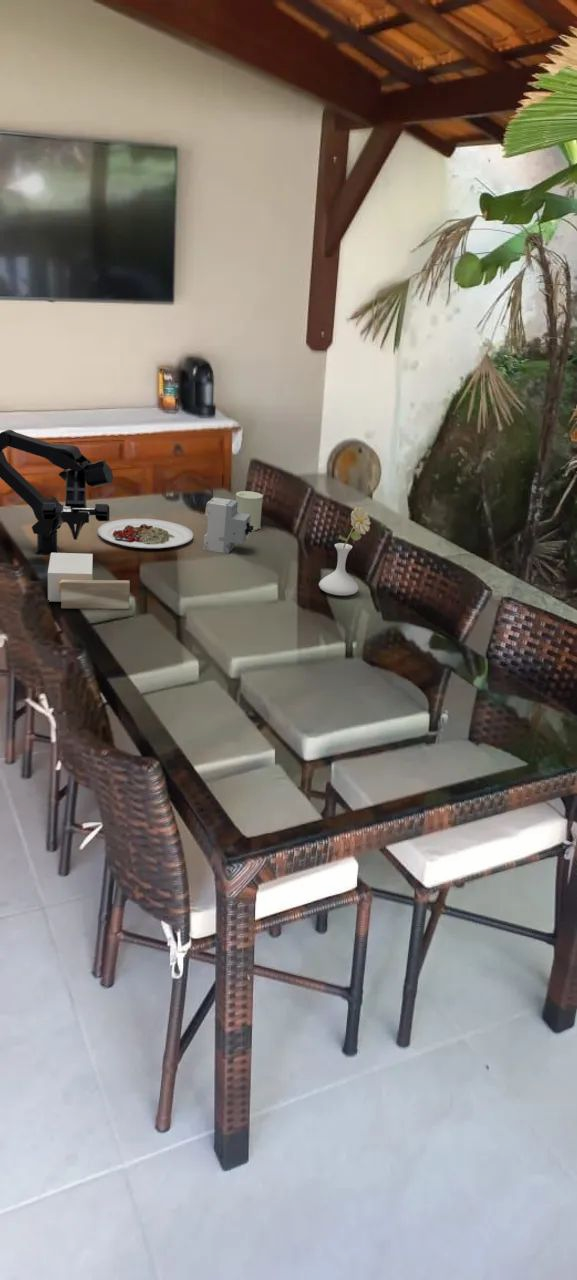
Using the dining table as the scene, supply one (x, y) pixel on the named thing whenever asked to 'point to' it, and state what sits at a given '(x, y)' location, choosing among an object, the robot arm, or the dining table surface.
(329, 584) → the flower in vase
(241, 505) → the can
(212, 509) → the circuit breaker
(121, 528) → the plated food
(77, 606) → the board
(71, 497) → the robot arm
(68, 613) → the dining table surface
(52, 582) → the box
